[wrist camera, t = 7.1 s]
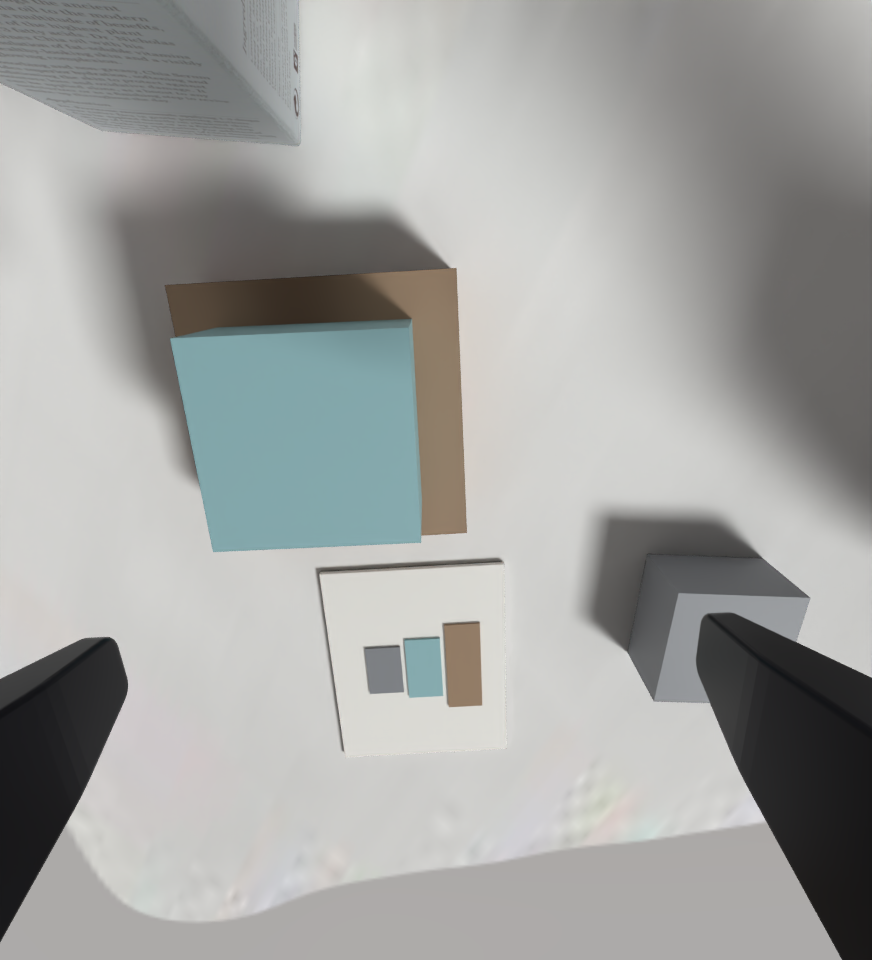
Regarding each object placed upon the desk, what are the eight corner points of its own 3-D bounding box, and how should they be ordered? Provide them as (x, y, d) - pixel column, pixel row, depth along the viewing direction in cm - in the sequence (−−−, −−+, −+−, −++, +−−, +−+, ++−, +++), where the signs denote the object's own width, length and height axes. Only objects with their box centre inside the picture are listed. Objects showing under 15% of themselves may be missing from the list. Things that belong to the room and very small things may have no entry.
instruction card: (503, 561, 21) (504, 565, 21) (505, 745, 24) (506, 750, 24) (320, 572, 21) (319, 575, 21) (346, 753, 24) (344, 759, 24)
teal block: (411, 318, 16) (409, 327, 13) (422, 499, 17) (420, 542, 15) (216, 327, 16) (169, 338, 13) (248, 507, 17) (212, 551, 15)
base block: (451, 269, 18) (456, 267, 15) (461, 498, 21) (466, 532, 18) (205, 284, 18) (164, 285, 15) (248, 510, 21) (219, 546, 18)
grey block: (760, 556, 21) (810, 597, 19) (732, 652, 23) (775, 704, 20) (645, 551, 21) (678, 593, 18) (625, 649, 23) (654, 701, 20)
